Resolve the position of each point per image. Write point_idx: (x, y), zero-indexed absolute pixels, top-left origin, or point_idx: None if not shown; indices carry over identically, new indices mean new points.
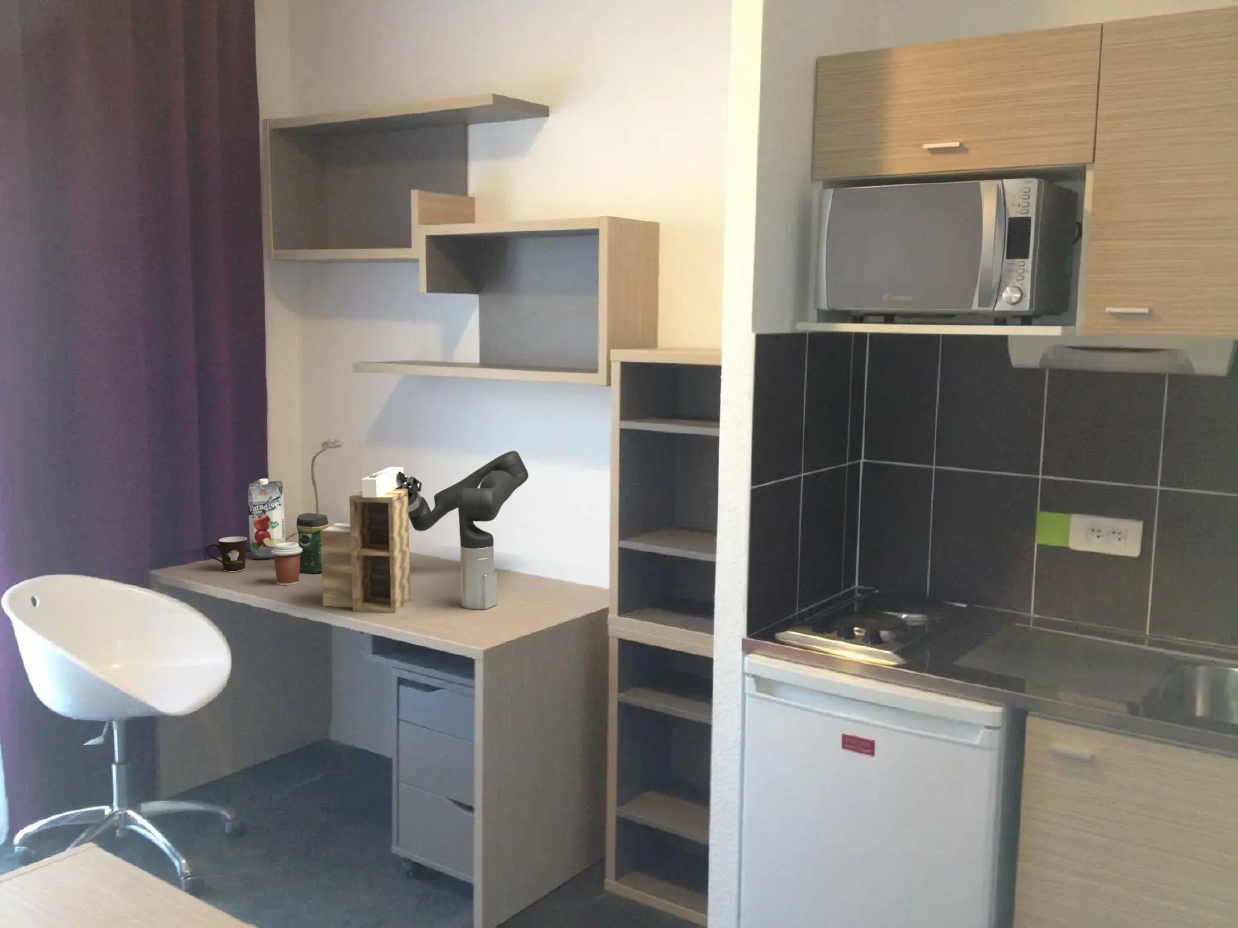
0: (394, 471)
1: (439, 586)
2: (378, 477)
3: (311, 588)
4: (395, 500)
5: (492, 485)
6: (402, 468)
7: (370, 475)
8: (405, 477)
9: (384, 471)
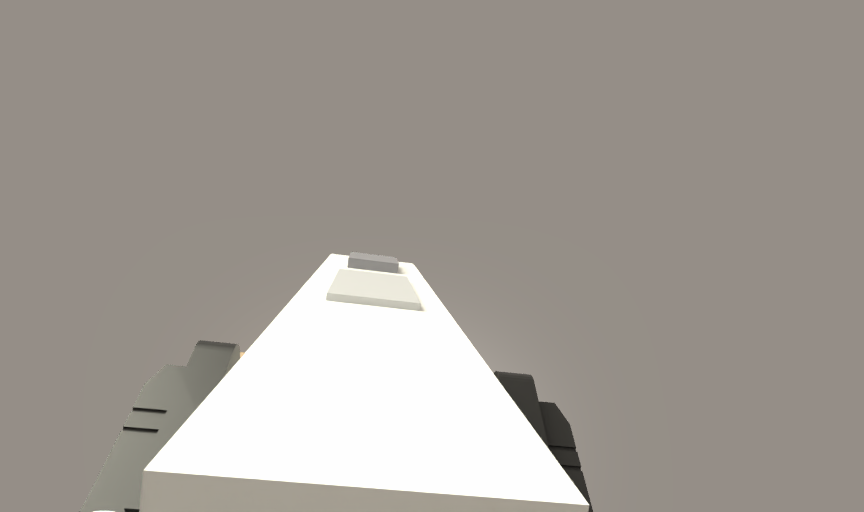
0: (282, 312)
1: None
2: (337, 260)
3: None
4: None
5: None
6: (170, 461)
7: (396, 260)
8: (104, 489)
9: (379, 295)
